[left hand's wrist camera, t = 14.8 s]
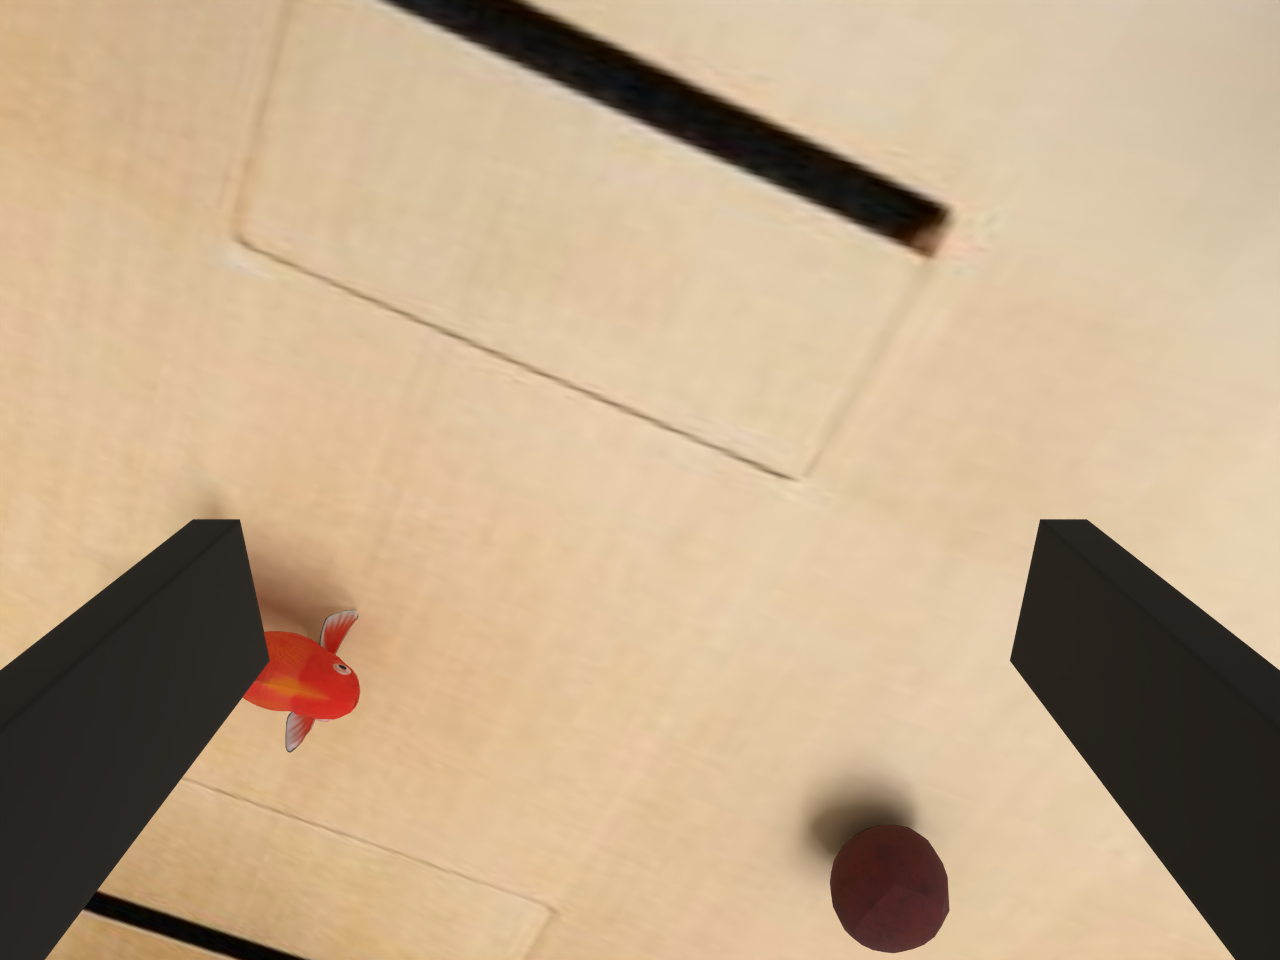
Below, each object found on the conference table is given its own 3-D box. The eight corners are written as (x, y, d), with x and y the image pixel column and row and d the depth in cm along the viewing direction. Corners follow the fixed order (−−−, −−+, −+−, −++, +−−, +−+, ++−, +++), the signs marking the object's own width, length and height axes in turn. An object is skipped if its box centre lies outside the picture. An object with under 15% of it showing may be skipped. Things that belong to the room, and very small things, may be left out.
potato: (799, 862, 54) (821, 958, 47) (859, 784, 51) (892, 875, 45) (888, 896, 55) (922, 995, 48) (951, 822, 52) (996, 915, 46)
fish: (322, 807, 46) (196, 864, 36) (151, 649, 50) (-5, 663, 40) (425, 658, 46) (327, 675, 36) (247, 511, 50) (114, 491, 40)
